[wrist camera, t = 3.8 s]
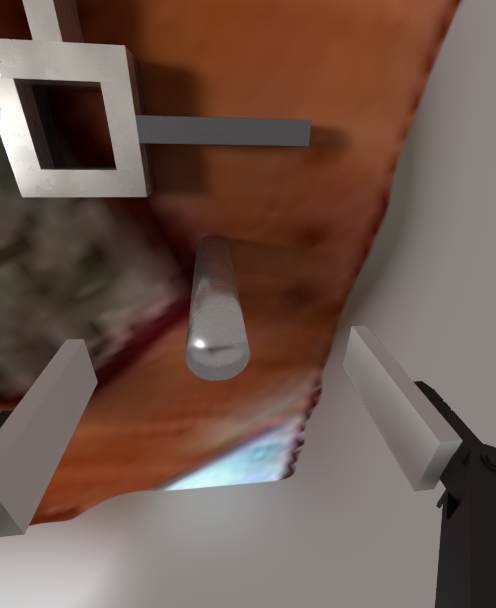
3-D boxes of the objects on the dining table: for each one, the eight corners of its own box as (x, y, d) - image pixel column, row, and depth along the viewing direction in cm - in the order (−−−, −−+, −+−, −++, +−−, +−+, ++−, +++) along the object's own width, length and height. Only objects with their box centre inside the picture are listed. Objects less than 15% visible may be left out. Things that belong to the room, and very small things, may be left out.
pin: (229, 266, 29) (249, 378, 15) (197, 267, 29) (188, 382, 15) (229, 235, 28) (250, 328, 14) (195, 235, 27) (182, 332, 13)
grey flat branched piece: (290, 189, 26) (303, 196, 23) (49, 189, 24) (22, 197, 20) (323, -202, 16) (355, -296, 13) (-89, -267, 14) (-187, -404, 10)
